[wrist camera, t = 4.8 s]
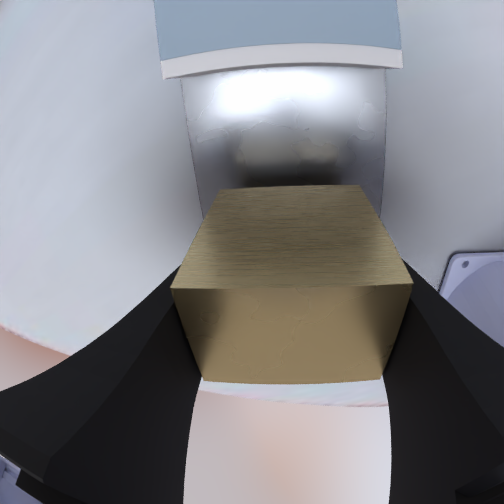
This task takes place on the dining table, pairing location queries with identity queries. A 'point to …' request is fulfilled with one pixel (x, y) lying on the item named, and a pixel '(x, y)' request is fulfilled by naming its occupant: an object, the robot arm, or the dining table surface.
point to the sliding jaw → (275, 35)
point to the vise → (287, 129)
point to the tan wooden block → (292, 287)
